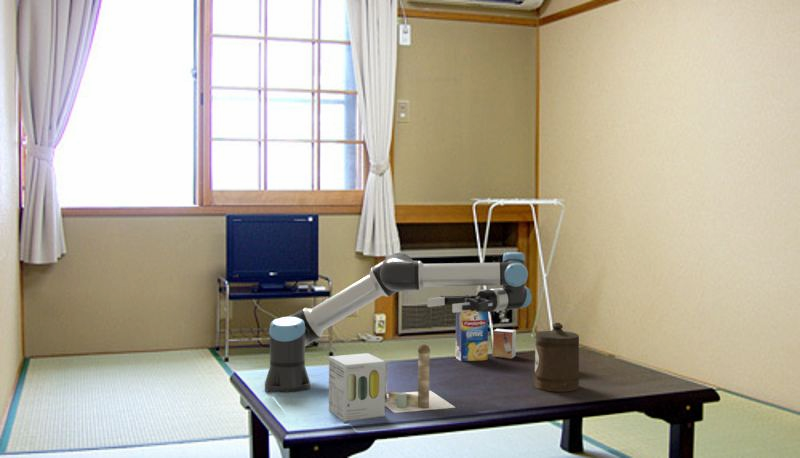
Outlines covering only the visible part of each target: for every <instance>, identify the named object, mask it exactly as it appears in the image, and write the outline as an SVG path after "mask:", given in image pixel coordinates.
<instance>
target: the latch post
mask: <svg viewBox="0 0 800 458" xmlns="http://www.w3.org/2000/svg"><path fill="white" fill-rule="evenodd" d="M397 407H398V408H406V407H407V394H406V393H405V392H399V393H398V394H397Z"/></svg>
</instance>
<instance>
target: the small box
mask: <svg viewBox="0 0 800 458" xmlns="http://www.w3.org/2000/svg"><path fill="white" fill-rule="evenodd" d="M492 333H493V334H492V339H493V340H492V357H493V358H494V357H496V358H504V359H513V358H514V357H516V348H517V344H516V343H517V330H516V329H504V328H496V329H494V330H493V332H492Z"/></svg>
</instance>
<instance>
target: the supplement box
mask: <svg viewBox="0 0 800 458" xmlns="http://www.w3.org/2000/svg"><path fill="white" fill-rule="evenodd" d="M385 362H386V361H385V360H383V359H382V358H379V357H377V356H375V355H373V354H370V353H369V352H364V353H363V352H362V353H356V354H355V353H353V354H344V355H334V356H331V355H330V356H328V411H329V412H330V413H332V414H333V415H334V416H336V417H337V418H339V419H340V420H342V421H344V422H343V424H350V421H357V420H358V421H359V420H365V419H366V420H367V419H373V418H382V417H385V416H386V415H385V414H386V413H385V412H386V411H385V410H386V409H385V408H386V406H385Z"/></svg>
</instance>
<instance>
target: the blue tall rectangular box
mask: <svg viewBox="0 0 800 458" xmlns="http://www.w3.org/2000/svg"><path fill="white" fill-rule="evenodd" d="M488 342H489V312H481V311H479V312H476V310H475V311H471V310H470V311H466V312H456V313H455V350H454V351H455V354H454V356H455V357H456V359H457V360H458V361H460V362H470V361H474V362H475V361H488V353H489V352H488V351H489V349H488V348H489V345H488V344H489V343H488Z"/></svg>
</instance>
